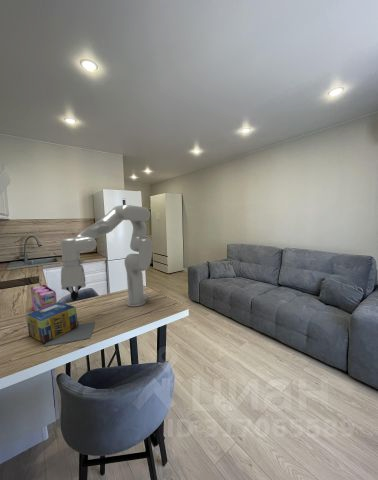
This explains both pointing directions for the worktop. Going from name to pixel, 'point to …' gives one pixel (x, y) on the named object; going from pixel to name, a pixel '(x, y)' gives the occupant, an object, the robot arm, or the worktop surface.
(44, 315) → the protein box
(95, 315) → the worktop surface
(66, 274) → the robot arm
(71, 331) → the rubber mat
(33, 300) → the gum box
